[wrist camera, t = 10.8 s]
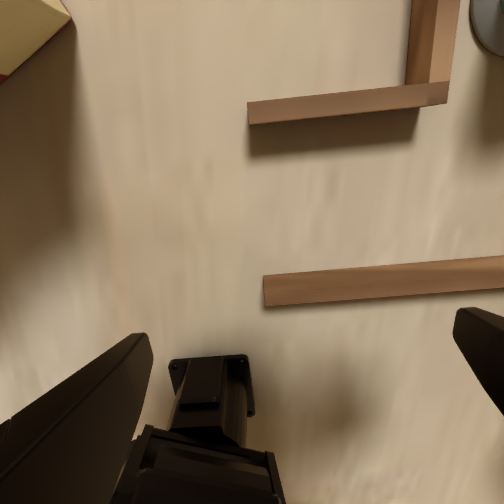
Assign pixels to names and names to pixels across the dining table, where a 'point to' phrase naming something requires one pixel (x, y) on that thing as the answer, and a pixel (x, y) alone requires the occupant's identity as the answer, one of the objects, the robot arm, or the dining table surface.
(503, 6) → the peg
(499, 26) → the pad
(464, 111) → the dining table surface
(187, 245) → the dining table surface
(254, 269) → the dining table surface
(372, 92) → the channel
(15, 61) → the gift box
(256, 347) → the dining table surface
